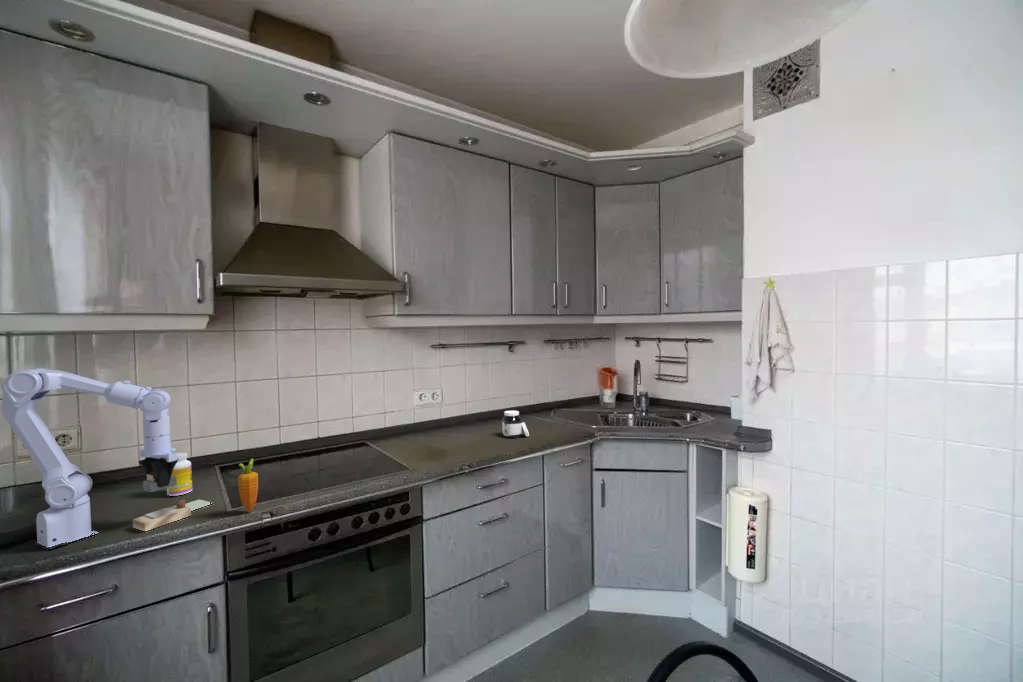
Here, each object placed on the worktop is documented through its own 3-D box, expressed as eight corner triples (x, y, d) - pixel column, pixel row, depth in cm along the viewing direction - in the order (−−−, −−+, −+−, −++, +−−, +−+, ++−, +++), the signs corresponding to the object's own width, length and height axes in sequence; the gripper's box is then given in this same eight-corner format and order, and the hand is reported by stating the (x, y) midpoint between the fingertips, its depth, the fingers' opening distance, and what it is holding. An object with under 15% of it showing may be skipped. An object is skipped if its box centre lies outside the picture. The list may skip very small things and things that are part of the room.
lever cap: (151, 492, 120) (150, 476, 120) (143, 490, 122) (142, 474, 122) (176, 485, 125) (175, 469, 125) (168, 483, 127) (167, 468, 127)
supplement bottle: (195, 493, 147) (193, 453, 147) (170, 499, 142) (168, 458, 142) (189, 488, 152) (187, 450, 151) (164, 494, 147) (163, 454, 146)
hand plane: (145, 532, 118) (144, 515, 118) (133, 528, 120) (132, 511, 120) (191, 516, 128) (190, 500, 128) (179, 513, 130) (178, 497, 130)
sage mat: (186, 513, 130) (186, 512, 130) (171, 509, 133) (171, 508, 133) (213, 504, 137) (213, 502, 137) (199, 500, 140) (199, 499, 140)
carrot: (240, 517, 126) (238, 463, 125) (238, 512, 130) (236, 459, 129) (260, 513, 129) (258, 460, 128) (258, 507, 133) (256, 456, 132)
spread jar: (500, 435, 216) (499, 411, 215) (521, 432, 220) (521, 408, 220) (511, 440, 205) (510, 414, 204) (533, 437, 209) (532, 412, 209)
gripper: (188, 434, 123) (190, 483, 124) (159, 430, 130) (161, 477, 130) (158, 440, 117) (161, 492, 117) (129, 435, 124) (132, 485, 124)
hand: (159, 485), depth 123 cm, fingers closed on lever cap, 4 cm apart
